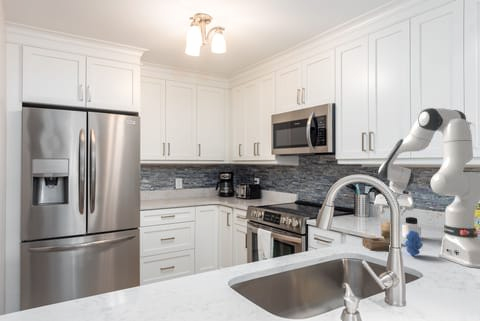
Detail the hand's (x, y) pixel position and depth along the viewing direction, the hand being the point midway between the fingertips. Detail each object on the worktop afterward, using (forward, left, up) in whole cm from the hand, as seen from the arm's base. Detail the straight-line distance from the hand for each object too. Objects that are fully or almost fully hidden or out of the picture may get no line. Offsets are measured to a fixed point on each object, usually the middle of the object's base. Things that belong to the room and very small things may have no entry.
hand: (391, 213), depth 175 cm
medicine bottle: (+6, -15, -15) cm, 22 cm away
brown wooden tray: (-16, +16, -15) cm, 27 cm away
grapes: (-31, +5, -15) cm, 35 cm away
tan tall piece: (-7, +6, -15) cm, 18 cm away
